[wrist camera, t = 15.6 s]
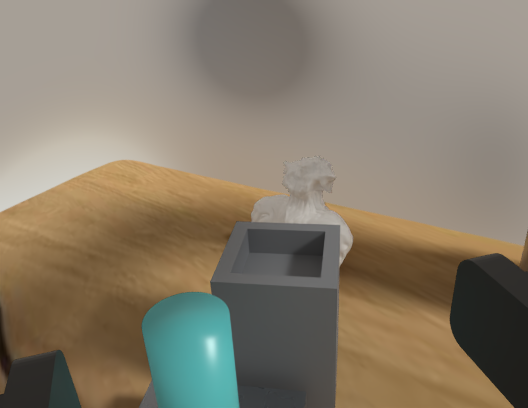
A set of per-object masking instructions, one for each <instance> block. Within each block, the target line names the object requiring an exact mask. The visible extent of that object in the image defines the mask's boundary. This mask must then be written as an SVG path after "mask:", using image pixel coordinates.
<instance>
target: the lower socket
mask: <svg viewBox="0 0 528 408" xmlns="http://www.w3.org/2000/svg"><path fill="white" fill-rule="evenodd" d="M237 389H238V399H239V408H307V405H306V392H305V391H294V390H283V389H272V388H261V387H250V386H239V385H237ZM139 408H158V405H157V400H156V395H155V390H154V385H153V381H151V383H150V385H149V387H148V389H147V392H146V394H145V396H144V398H143V400H142V402H141V404H140V406H139Z"/></svg>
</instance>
